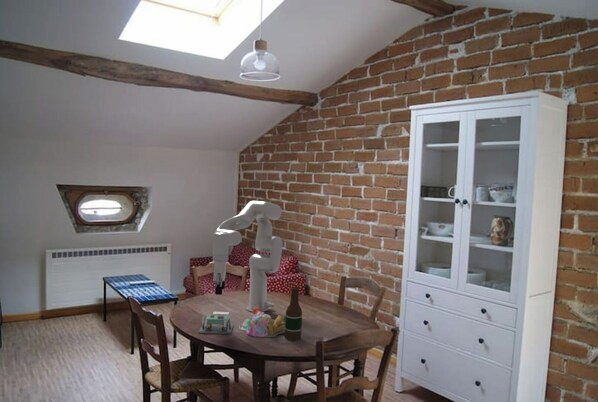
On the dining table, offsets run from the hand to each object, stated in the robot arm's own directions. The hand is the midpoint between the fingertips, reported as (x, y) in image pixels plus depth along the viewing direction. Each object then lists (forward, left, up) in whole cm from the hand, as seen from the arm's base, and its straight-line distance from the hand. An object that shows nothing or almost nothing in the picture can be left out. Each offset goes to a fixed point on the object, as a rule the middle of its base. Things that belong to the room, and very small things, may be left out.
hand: (220, 291), depth 220 cm
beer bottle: (-36, +12, -18) cm, 42 cm away
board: (+1, +3, -14) cm, 15 cm away
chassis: (+1, +3, -18) cm, 18 cm away
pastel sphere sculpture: (-22, +1, -19) cm, 29 cm away
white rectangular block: (+1, -12, -18) cm, 22 cm away
